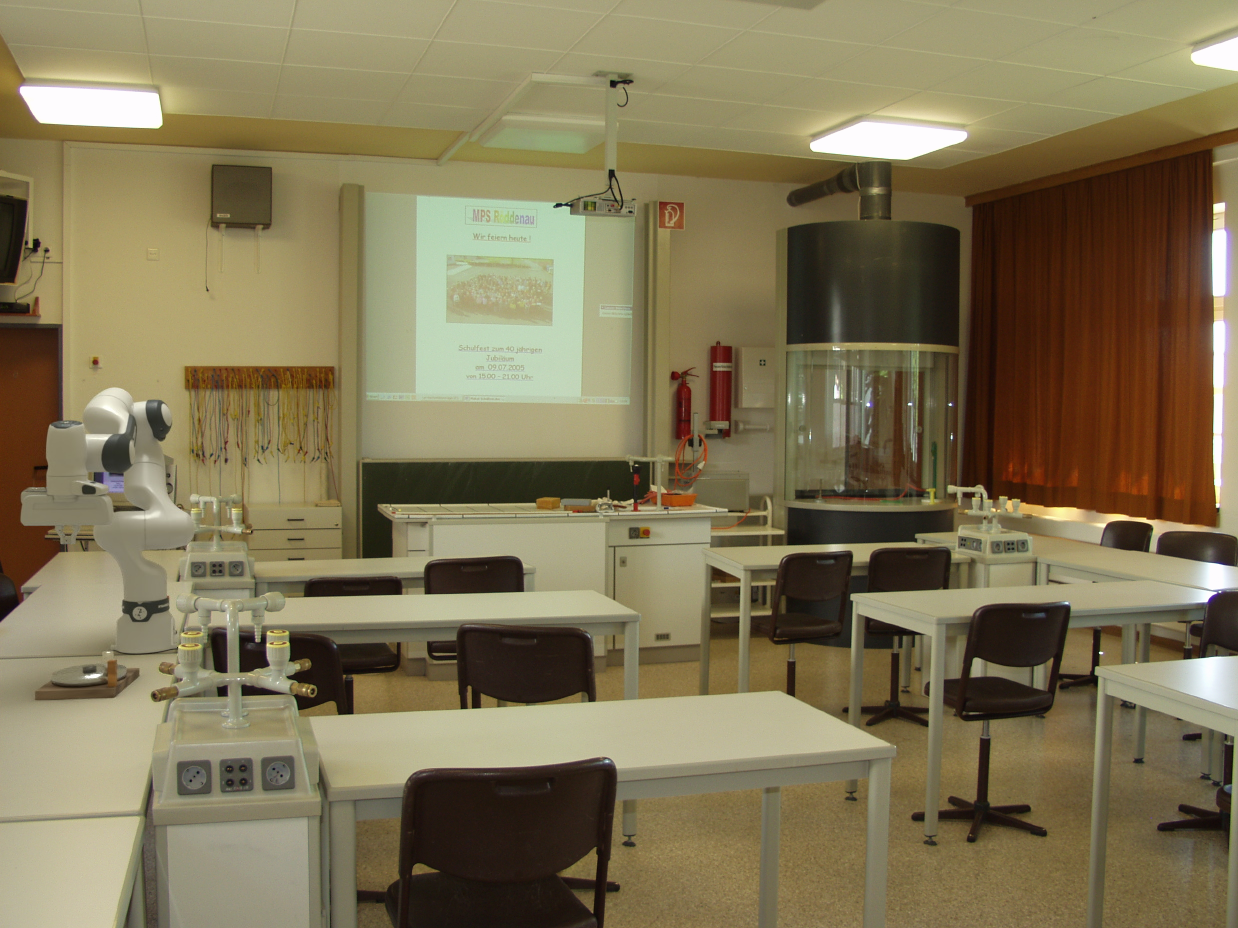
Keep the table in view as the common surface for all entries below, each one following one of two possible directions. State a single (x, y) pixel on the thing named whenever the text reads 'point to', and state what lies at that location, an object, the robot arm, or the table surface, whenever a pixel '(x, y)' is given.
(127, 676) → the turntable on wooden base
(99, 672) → the dial
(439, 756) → the table surface
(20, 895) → the table surface
